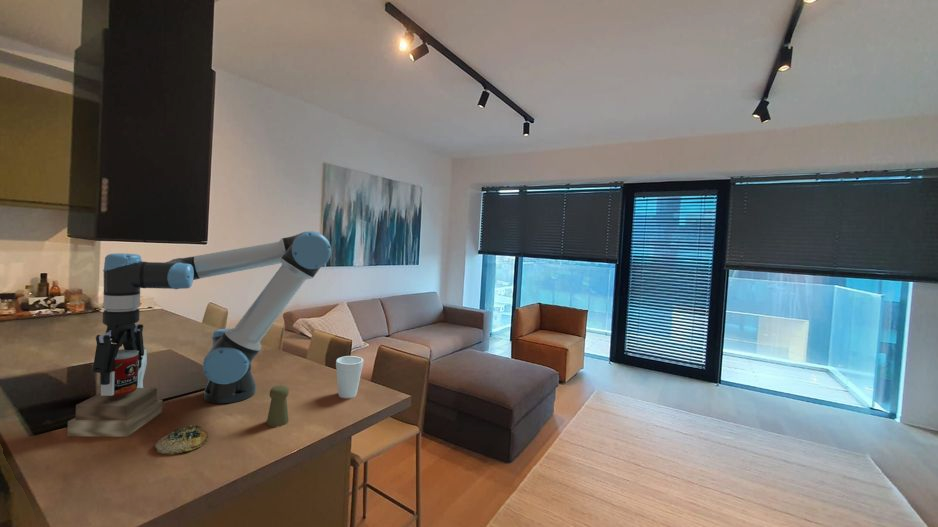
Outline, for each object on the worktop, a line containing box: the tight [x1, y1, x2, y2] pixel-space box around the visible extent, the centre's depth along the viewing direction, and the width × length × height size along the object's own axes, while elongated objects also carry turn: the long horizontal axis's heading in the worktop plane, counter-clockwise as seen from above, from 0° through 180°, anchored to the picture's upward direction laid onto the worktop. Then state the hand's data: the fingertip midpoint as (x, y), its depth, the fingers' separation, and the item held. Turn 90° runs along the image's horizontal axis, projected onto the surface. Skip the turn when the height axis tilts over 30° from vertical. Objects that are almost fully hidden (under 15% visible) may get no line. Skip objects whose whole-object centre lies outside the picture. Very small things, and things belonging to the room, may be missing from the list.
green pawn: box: [266, 384, 290, 428], centre depth 114 cm, size 6×6×11 cm
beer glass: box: [137, 346, 148, 388], centre depth 124 cm, size 7×7×15 cm
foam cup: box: [335, 355, 364, 399], centre depth 137 cm, size 10×9×13 cm
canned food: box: [107, 348, 139, 396], centre depth 105 cm, size 8×8×11 cm
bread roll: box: [154, 424, 209, 455], centre depth 99 cm, size 11×11×5 cm
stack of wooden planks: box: [67, 387, 164, 438], centre depth 106 cm, size 14×14×8 cm
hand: (119, 388), depth 106 cm, fingers closed on canned food, 8 cm apart
